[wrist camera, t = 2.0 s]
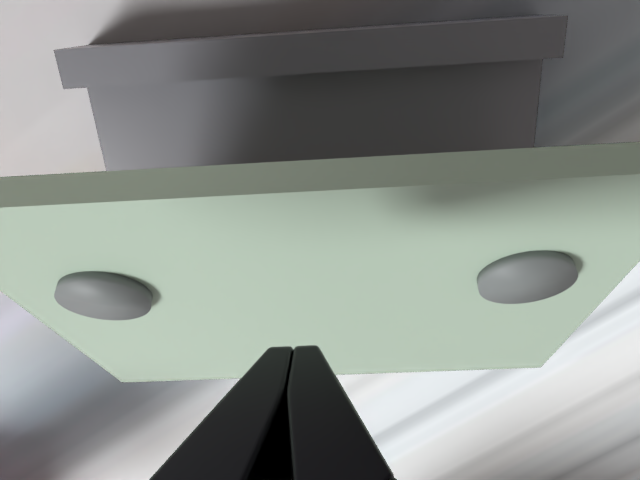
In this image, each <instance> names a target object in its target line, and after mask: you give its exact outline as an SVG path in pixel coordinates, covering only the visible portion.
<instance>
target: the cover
mask: <svg viewBox="0 0 640 480" xmlns="http://www.w3.org/2000/svg"><path fill="white" fill-rule="evenodd" d="M639 261H640V142H626V143H608V144H590V145H572V146H554V147H536V148H518V149H499V150H481V151H463V152H445V153H427V154H409V155H391V156H373V157H355V158H337V159H319V160H301V161H282V162H264V163H246V164H228V165H210V166H192V167H174V168H156V169H138V170H120V171H102V172H83V173H65V174H47V175H29V176H11V177H0V291H1V292H2V293H4V294H5V295H6V296H8V297H9V298H10V299H12V300H13V301H14V302H16V303H17V304H18V305H20V306H21V307H22V308H24V309H25V310H26V311H28V312H29V313H30V314H32V315H33V316H34V317H36V318H37V319H38V320H40V321H41V322H42V323H44V324H45V325H46V326H48V327H49V328H50V329H52V330H53V331H54V332H56V333H57V334H58V335H60V336H61V337H62V338H64V339H65V340H66V341H68V342H69V343H70V344H72V345H73V346H74V347H76V348H77V349H78V350H80V351H81V352H82V353H84V354H85V355H86V356H88V357H89V358H90V359H92V360H93V361H94V362H96V363H97V364H98V365H100V366H101V367H102V368H104V369H105V370H106V371H108V372H109V373H110V374H111V375H113V376H114V377H115V378H117V379H118V380H119V381H121V382H122V383H123V382H151V381H179V380H206V379H234V378H242V377H243V375H244V374H245V373H246V372H247V371H248V370H249V369H250V368H251V367H252V366H253V364H254V363H255V362H256V361H257V360H258V359H259V358H260V357H261V356H262V354H263V353H264V352H265V351H266V350H267V349H268V348H270V347H280V346H291V347H292V348H293V349H294V348H295V347H296V346H306V345H317V346H318V347H319V348H320V350H321V351H322V353H323V355H324V356H325V358H326V360H327V362H328V363H329V365H330V367H331V368H332V370H333V372H334V374H335V375H345V374H373V373H401V372H429V371H456V370H484V369H512V368H540V367H542V366H543V364H544V363H545V362H546V361H547V360H548V359H549V358H550V357H551V356H552V355H553V354H554V353H555V352H556V350H557V349H558V348H559V347H560V346H561V345H562V344H563V343H564V342H565V341H566V340H567V339H568V338H569V337H570V335H571V334H572V333H573V332H574V331H575V330H576V329H577V328H578V327H579V326H580V325H581V324H582V323H583V321H584V320H585V319H586V318H587V317H588V316H589V315H590V314H591V313H592V312H593V311H594V310H595V309H596V308H597V306H598V305H599V304H600V303H601V302H602V301H603V300H604V299H605V298H606V297H607V296H608V295H609V294H610V292H611V291H612V290H613V289H614V288H615V287H616V286H617V285H618V284H619V283H620V282H621V281H622V280H623V278H624V277H625V276H626V275H627V274H628V273H629V272H630V271H631V270H632V269H633V268H634V267H635V266H636V265H637V263H638V262H639Z"/></svg>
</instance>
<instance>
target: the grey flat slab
mask: <svg viewBox="0 0 640 480" xmlns="http://www.w3.org/2000/svg"><path fill="white" fill-rule="evenodd" d="M567 19H568V16H558V15H530V16H515V17H501V18H486V19H471V20H456V21H441V22H426V23H411V24H396V25H381V26H366V27H351V28H336V29H321V30H306V31H291V32H276V33H261V34H246V35H231V36H216V37H202V38H187V39H172V40H157V41H142V42H127V43H112V44H97V45H85V46H78V47H71V48H64V49H57V50H54V53H55V57H56V61H57V65H58V69H59V73H60V77H61V81H62V85H63V89H71V88H87V90H88V94H89V98H90V102H91V107H92V111H93V115H94V120H95V124H96V128H97V133H98V137H99V141H100V146H101V150H102V154H103V158H104V163H105V167H106V171H120V170H138V169H156V168H174V167H192V166H210V165H228V164H246V163H264V162H282V161H301V160H319V159H337V158H355V157H373V156H391V155H409V154H427V153H445V152H463V151H481V150H499V149H518V148H534V140H535V130H536V121H537V111H538V101H539V91H540V81H541V71H542V61H543V59H547V58H563V54H564V45H565V36H566V28H567Z"/></svg>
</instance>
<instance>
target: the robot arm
mask: <svg viewBox="0 0 640 480" xmlns="http://www.w3.org/2000/svg"><path fill="white" fill-rule="evenodd" d="M149 480H397V479H396V478H394V475H393V473H392V471H391V469H390V468H389V466H388V464H387V463H386V461H385V459H384V457H383V456H382V454H381V452H380V451H379V449H378V447H377V445H376V444H375V442H374V440H373V439H372V437H371V435H370V434H369V432H368V430H367V428H366V427H365V425H364V423H363V422H362V420H361V418H360V416H359V415H358V413H357V411H356V410H355V408H354V406H353V404H352V403H351V401H350V399H349V398H348V396H347V394H346V392H345V391H344V389H343V387H342V386H341V384H340V382H339V380H338V379H337V377H336V375H335V374H334V372H333V370H332V368H331V367H330V365H329V363H328V362H327V360H326V358H325V356H324V355H323V353H322V351H321V350H320V348H319V347H318V346H317V345H306V346H296V347H295V348H294V349H293V348H292V347H291V346H280V347H270V348H268V349H267V350H266V351H265V352H264V353H263V354H262V356H261V357H260V358H259V359H258V360H257V361H256V362H255V363H254V364H253V366H252V367H251V368H250V369H249V370H248V371H247V372H246V373H245V374H244V375H243V377H242V378H241V379H240V380H239V381H238V382H237V383H236V384H235V385H234V387H233V388H232V389H231V390H230V391H229V392H228V393H227V394H226V395H225V396H224V398H223V399H222V400H221V401H220V402H219V403H218V404H217V405H216V406H215V408H214V409H213V410H212V411H211V412H210V413H209V414H208V415H207V416H206V417H205V419H204V420H203V421H202V422H201V423H200V424H199V425H198V426H197V427H196V429H195V430H194V431H193V432H192V433H191V434H190V435H189V436H188V437H187V438H186V440H185V441H184V442H183V443H182V444H181V445H180V446H179V447H178V448H177V450H176V451H175V452H174V453H173V454H172V455H171V456H170V457H169V458H168V459H167V461H166V462H165V463H164V464H163V465H162V466H161V467H160V468H159V469H158V471H157V472H156V473H155V474H154V475H153V476H152V477H151V478H150V479H149Z"/></svg>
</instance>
